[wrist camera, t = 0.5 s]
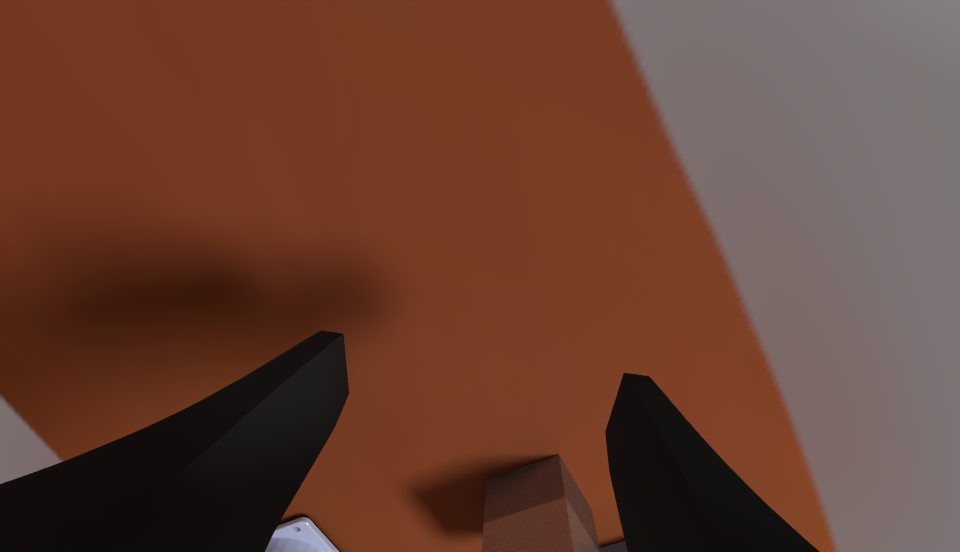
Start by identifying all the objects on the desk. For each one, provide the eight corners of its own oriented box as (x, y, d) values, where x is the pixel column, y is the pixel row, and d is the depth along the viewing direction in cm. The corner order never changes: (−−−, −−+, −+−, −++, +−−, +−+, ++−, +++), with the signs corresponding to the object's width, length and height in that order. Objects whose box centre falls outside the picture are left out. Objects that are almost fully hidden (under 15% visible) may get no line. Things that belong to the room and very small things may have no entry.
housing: (521, 530, 27) (524, 637, 21) (485, 479, 25) (480, 580, 20) (591, 508, 26) (614, 615, 20) (558, 453, 24) (573, 552, 19)
